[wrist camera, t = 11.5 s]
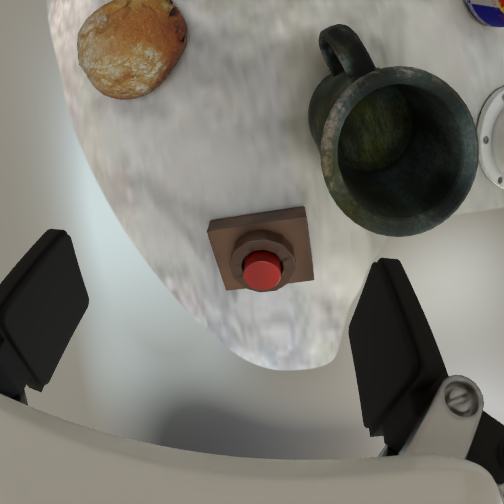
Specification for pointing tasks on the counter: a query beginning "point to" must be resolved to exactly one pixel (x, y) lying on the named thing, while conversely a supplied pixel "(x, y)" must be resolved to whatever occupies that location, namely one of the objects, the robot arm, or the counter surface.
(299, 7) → the counter surface
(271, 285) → the button
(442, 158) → the mug
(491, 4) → the beverage can
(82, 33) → the bread roll
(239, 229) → the control block
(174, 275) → the counter surface
